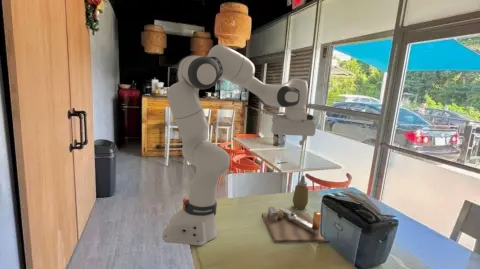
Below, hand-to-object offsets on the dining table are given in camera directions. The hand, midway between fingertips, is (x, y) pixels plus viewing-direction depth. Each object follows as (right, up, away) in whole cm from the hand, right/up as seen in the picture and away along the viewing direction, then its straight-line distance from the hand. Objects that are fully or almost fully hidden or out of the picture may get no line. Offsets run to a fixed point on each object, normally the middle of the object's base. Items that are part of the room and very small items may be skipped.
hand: (291, 144), depth 122 cm
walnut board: (0, -38, -1) cm, 38 cm away
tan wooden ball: (-5, -35, +4) cm, 36 cm away
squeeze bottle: (+8, -35, +20) cm, 41 cm away
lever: (+3, -37, 0) cm, 37 cm away
